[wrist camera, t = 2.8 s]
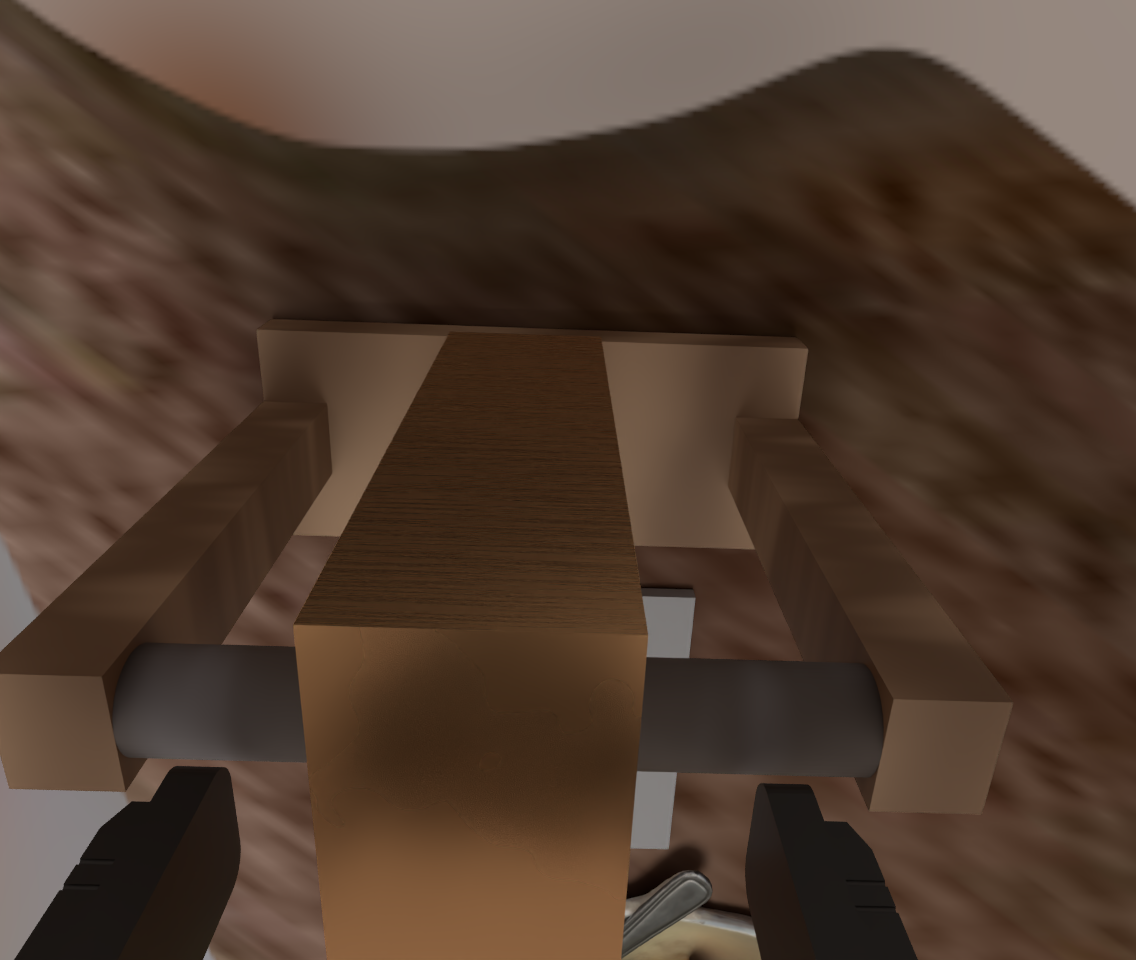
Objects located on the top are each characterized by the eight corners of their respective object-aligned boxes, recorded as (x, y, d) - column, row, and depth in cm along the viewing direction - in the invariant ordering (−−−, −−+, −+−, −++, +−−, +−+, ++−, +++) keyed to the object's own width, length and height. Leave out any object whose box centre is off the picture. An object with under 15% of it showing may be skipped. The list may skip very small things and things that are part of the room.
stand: (796, 337, 28) (1048, 581, 13) (769, 530, 31) (954, 909, 16) (271, 318, 28) (-57, 547, 13) (290, 515, 31) (36, 887, 16)
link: (601, 336, 20) (647, 635, 9) (582, 705, 24) (597, 1244, 13) (449, 331, 20) (293, 625, 9) (456, 701, 24) (355, 1239, 13)
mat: (693, 589, 32) (695, 597, 31) (667, 838, 37) (668, 848, 36) (365, 579, 32) (362, 587, 31) (381, 830, 36) (378, 841, 36)
